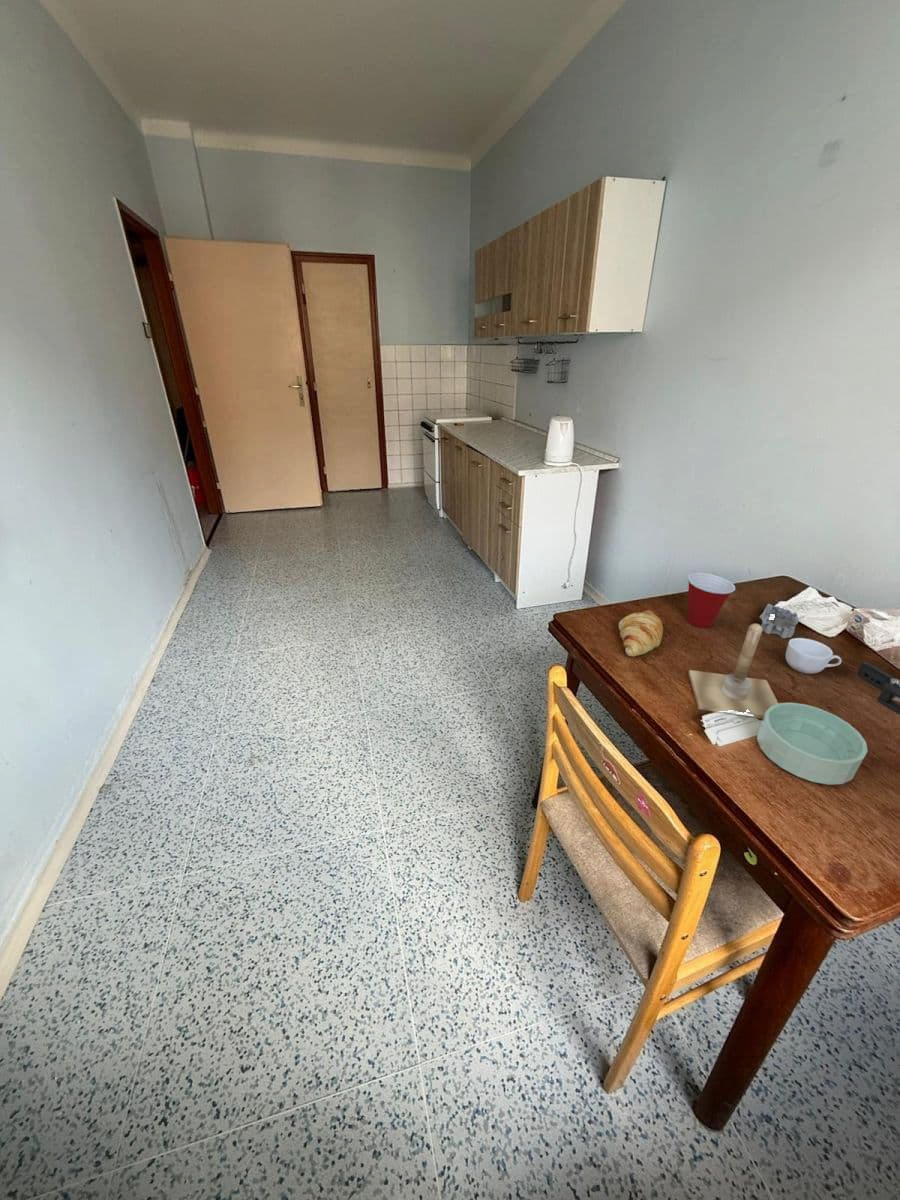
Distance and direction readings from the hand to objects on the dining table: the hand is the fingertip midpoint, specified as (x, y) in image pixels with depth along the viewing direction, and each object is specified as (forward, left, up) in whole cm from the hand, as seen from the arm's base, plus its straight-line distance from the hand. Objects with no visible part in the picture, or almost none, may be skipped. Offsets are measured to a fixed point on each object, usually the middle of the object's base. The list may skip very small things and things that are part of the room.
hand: (885, 662), depth 65 cm
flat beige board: (+8, -21, -25) cm, 34 cm away
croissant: (+25, -39, -25) cm, 53 cm away
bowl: (0, -7, -25) cm, 26 cm away
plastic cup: (+9, -51, -25) cm, 58 cm away
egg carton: (-9, -53, -25) cm, 60 cm away
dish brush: (+8, -21, -24) cm, 33 cm away
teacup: (-10, -35, -25) cm, 44 cm away
